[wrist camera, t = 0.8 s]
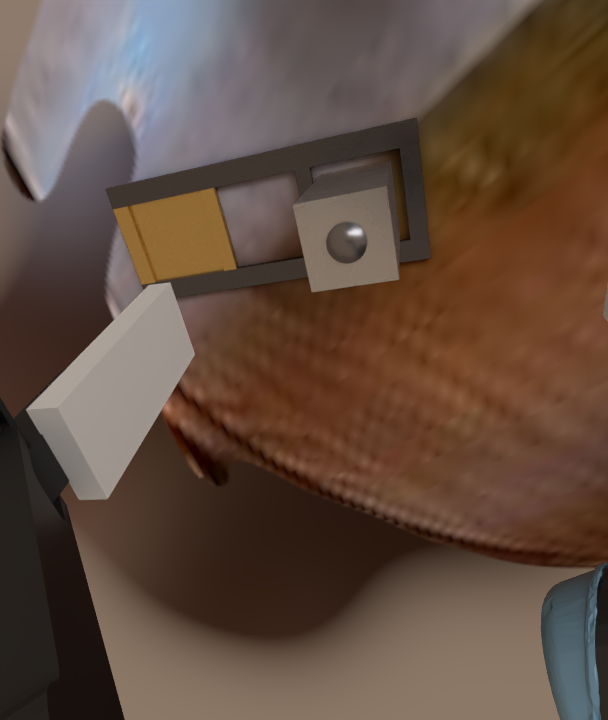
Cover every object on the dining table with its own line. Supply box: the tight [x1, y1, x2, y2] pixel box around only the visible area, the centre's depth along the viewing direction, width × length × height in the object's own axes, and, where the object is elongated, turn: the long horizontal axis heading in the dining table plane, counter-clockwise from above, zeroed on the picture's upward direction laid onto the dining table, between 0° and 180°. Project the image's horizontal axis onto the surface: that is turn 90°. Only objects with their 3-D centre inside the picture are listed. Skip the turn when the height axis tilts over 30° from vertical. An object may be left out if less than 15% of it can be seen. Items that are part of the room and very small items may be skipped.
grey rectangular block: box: [293, 160, 400, 292], centre depth 31 cm, size 5×5×11 cm
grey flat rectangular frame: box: [106, 118, 431, 298], centre depth 37 cm, size 10×24×1 cm, turn 102°
